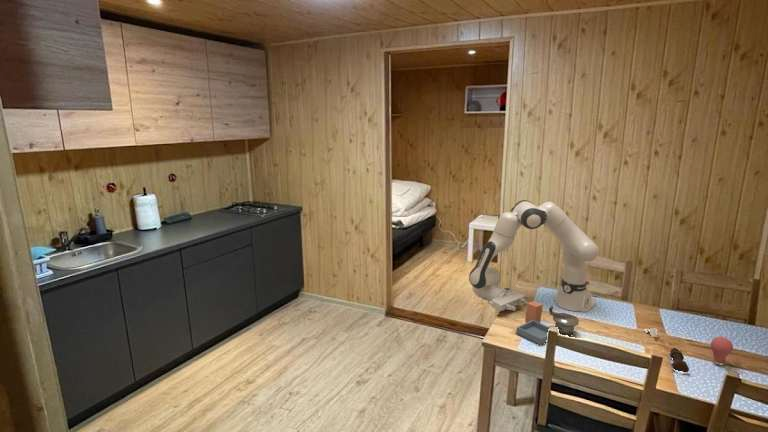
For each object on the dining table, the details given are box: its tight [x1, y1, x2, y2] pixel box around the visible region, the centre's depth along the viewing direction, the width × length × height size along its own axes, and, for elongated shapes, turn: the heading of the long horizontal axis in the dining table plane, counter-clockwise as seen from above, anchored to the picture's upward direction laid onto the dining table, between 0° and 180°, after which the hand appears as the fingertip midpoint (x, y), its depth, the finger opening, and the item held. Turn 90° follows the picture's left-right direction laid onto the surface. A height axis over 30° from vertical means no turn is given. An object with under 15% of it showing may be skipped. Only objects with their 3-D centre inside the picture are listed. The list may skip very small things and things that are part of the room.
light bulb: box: [710, 336, 734, 363], centre depth 170 cm, size 7×7×12 cm
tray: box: [515, 320, 551, 346], centre depth 190 cm, size 13×13×4 cm
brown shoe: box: [669, 347, 690, 373], centre depth 171 cm, size 6×5×15 cm
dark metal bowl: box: [548, 305, 580, 337], centre depth 194 cm, size 13×11×11 cm
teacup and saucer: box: [643, 327, 659, 337], centre depth 192 cm, size 9×8×4 cm
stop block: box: [524, 300, 544, 323], centre depth 202 cm, size 5×5×10 cm
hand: (521, 306), depth 207 cm, fingers open, 8 cm apart
